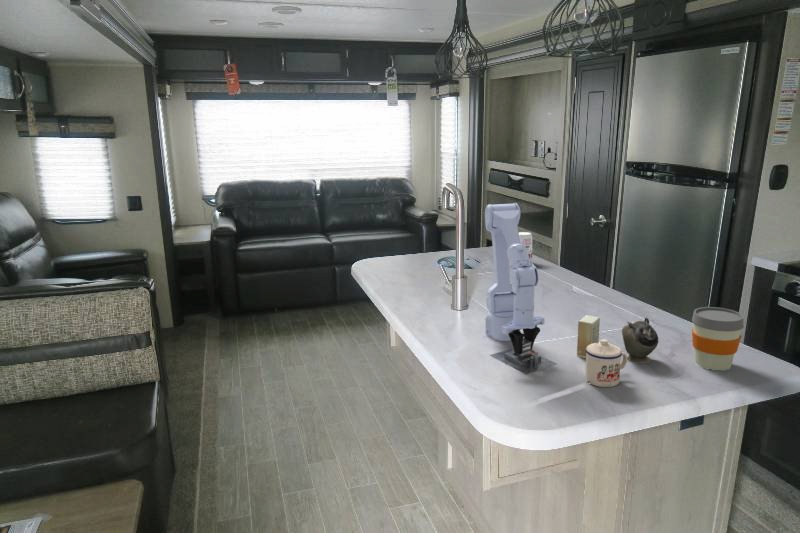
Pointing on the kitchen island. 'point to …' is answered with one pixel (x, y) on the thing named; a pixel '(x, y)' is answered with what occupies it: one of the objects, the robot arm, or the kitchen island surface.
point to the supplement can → (527, 242)
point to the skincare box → (587, 333)
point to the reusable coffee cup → (716, 336)
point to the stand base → (523, 361)
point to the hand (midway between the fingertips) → (522, 351)
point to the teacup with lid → (604, 364)
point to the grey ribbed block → (525, 349)
